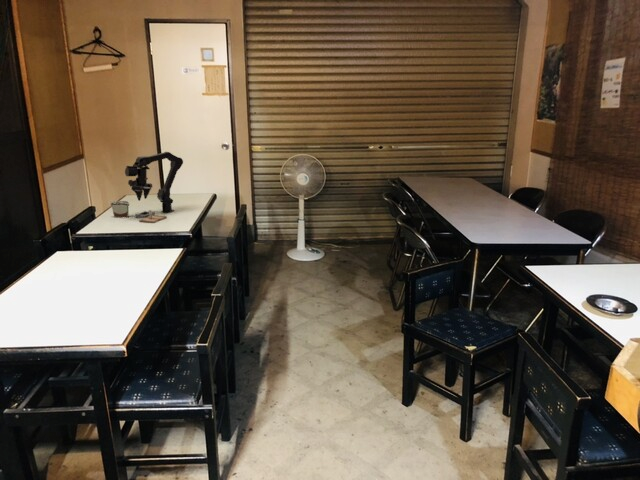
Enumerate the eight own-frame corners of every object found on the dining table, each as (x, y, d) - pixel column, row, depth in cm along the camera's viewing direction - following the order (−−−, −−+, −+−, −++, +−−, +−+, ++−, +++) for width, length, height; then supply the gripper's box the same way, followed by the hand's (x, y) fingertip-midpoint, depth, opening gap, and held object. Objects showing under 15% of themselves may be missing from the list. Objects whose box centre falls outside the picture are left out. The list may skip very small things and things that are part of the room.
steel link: (144, 214, 338) (144, 211, 338) (154, 214, 336) (154, 212, 336) (135, 217, 329) (135, 214, 329) (145, 218, 327) (145, 215, 326)
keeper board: (152, 216, 331) (151, 206, 329) (166, 217, 328) (165, 207, 326) (139, 222, 318) (137, 211, 316) (153, 223, 315) (152, 212, 313)
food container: (134, 215, 336) (132, 200, 333) (129, 217, 330) (128, 202, 327) (116, 215, 337) (114, 200, 334) (112, 217, 331) (110, 202, 328)
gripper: (136, 174, 337) (137, 196, 341) (123, 176, 319) (123, 200, 323) (152, 175, 336) (152, 198, 340) (140, 177, 318) (140, 201, 322)
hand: (142, 199), depth 331 cm, fingers open, 9 cm apart
